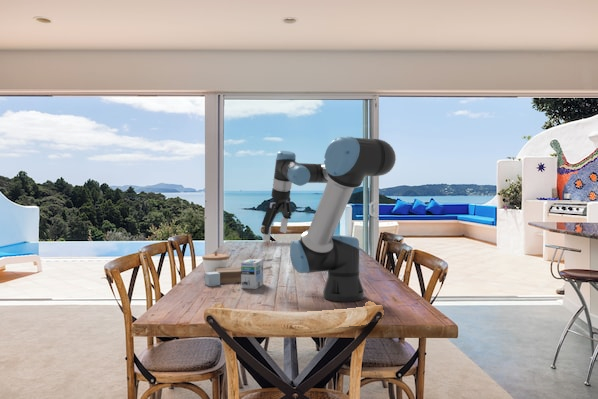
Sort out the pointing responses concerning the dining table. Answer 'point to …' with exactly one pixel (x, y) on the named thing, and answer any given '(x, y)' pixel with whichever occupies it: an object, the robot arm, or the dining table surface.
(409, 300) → the dining table surface
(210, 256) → the lidded bowl
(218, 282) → the slate cube
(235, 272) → the walnut block
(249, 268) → the light bulb box
